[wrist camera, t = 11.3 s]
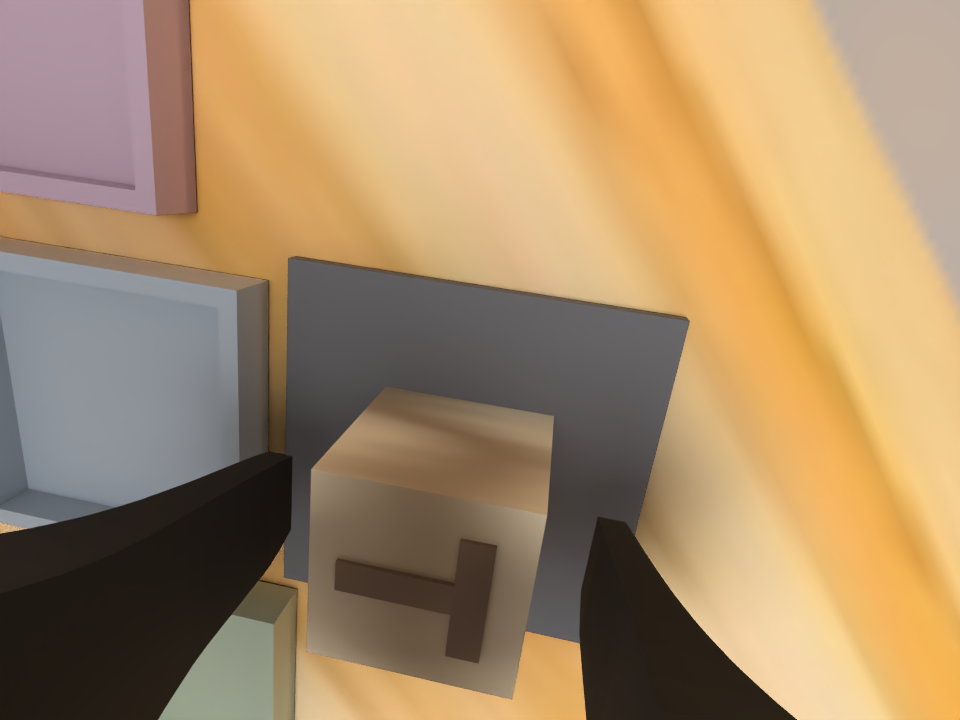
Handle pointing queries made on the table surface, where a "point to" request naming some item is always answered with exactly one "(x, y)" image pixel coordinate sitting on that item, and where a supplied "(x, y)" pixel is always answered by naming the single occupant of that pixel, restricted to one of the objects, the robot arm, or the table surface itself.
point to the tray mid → (122, 378)
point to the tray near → (98, 103)
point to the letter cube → (429, 539)
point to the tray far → (245, 664)
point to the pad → (485, 393)
